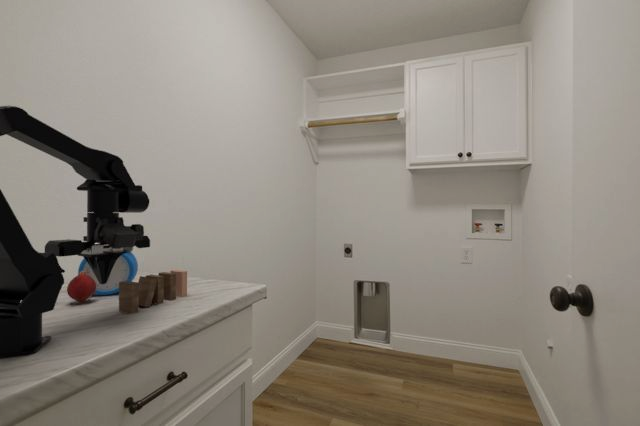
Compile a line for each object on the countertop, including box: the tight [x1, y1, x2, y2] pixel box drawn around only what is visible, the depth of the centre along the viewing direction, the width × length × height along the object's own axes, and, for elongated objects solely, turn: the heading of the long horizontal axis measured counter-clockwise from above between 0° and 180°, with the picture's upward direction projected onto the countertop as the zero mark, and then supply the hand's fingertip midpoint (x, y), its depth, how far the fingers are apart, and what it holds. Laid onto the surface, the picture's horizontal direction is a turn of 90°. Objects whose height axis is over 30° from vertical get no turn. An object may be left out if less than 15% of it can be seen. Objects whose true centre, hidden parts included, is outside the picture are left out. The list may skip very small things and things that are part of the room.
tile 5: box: [169, 269, 188, 298], centre depth 85 cm, size 2×5×7 cm, turn 66°
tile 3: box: [145, 274, 165, 305], centre depth 79 cm, size 2×5×7 cm, turn 66°
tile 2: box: [137, 275, 158, 308], centre depth 76 cm, size 2×5×7 cm, turn 66°
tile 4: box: [158, 271, 177, 302], centre depth 82 cm, size 2×5×7 cm, turn 66°
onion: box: [66, 271, 96, 303], centre depth 78 cm, size 6×6×8 cm
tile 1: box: [118, 281, 140, 315], centre depth 72 cm, size 2×5×7 cm, turn 66°
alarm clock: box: [77, 242, 139, 297], centre depth 87 cm, size 13×6×15 cm, turn 110°
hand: (102, 283), depth 67 cm, fingers closed
